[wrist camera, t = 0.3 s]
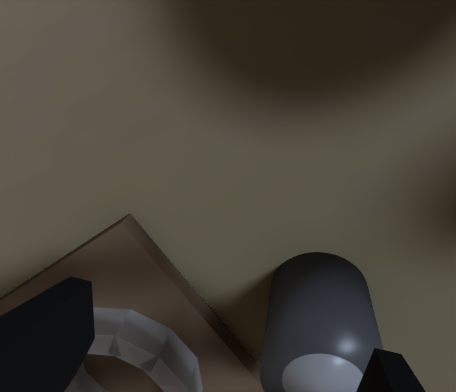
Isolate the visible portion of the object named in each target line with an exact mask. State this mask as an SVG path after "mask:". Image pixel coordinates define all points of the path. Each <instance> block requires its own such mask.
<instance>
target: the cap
mask: <svg viewBox="0 0 456 392" xmlns="http://www.w3.org/2000/svg"><path fill="white" fill-rule="evenodd" d="M374 348H377V349H381V350H383V346H382V342H381V338H380V334H379V330H378V326H377V322H376V318H375V314H374V310H373V306H372V302H371V298H370V294H369V290H368V286H367V282H366V280H365V278H364V276H363V274H362V273H361V272H360V270H359V269H358V268H357V267H356V266H355V265H353V264H352V263H351V262H349V261H348V260H346V259H344V258H342V257H339V256H337V255H333V254H329V253H321V252H312V253H305V254H301V255H298V256H295V257H293V258H291V259H289V260H287V261H286V262H284V263H283V264H282V265H281V266H280V267H279V268H278V269H277V271H276V272H275V274H274V276H273V278H272V281H271V288H270V296H269V303H268V311H267V319H266V327H265V335H264V343H263V351H262V359H261V367H260V381H261V385H262V388H263V390H264V392H356V391H357V389H358V386H359V384H360V382H361V379H362V377H363V374H364V372H365V370H366V367H367V365H368V362H369V360H370V358H371V355H372V353H373V350H374Z"/></svg>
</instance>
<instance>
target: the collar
mask: <svg viewBox="0 0 456 392" xmlns="http://www.w3.org/2000/svg"><path fill="white" fill-rule="evenodd" d="M70 276H71V277H75V278H80V279H84V280H88V281H92V294H93V311H94V328H95V339H94V341H93V343H92V345H91V347H90V349H89V351H88V353H87V355H86V357H85V359H84V360H83V362H82V364H81V366H80V368H79V369H78V371H77V373H76V375H75V377H74V378H73V380H72V381H71V383H70V384H69V386H68V387H67V388H66V390H65V391H64V392H264V390H263V388H262V385H261V381H260V368H259V366H258V365H257V364H256V363H255V362H254V360H253V359H252V358H251V357H250V356H249V354H248V353H247V352H246V351H245V350H244V349H243V347H242V346H241V345H240V344H239V343H238V341H237V340H236V339H235V338H234V337H233V335H232V334H231V333H230V332H229V331H228V329H227V328H226V327H225V326H224V325H223V324H222V322H221V321H220V320H219V319H218V318H217V316H216V315H215V314H214V313H213V312H212V310H211V309H210V308H209V307H208V306H207V305H206V303H205V302H204V301H203V300H202V299H201V297H200V296H199V295H198V294H197V293H196V291H195V290H194V289H193V288H192V287H191V285H190V284H189V283H188V282H187V281H186V280H185V278H184V277H183V276H182V275H181V274H180V272H179V271H178V270H177V269H176V268H175V266H174V265H173V264H172V263H171V262H170V261H169V259H168V258H167V257H166V256H165V255H164V253H163V252H162V251H161V250H160V249H159V247H158V246H157V245H156V244H155V243H154V242H153V240H152V239H151V238H150V237H149V236H148V234H147V233H146V232H145V231H144V230H143V228H142V227H141V226H140V225H139V224H138V222H137V221H136V220H135V219H134V218H133V217H132V215H131V214H128V215H127V216H125V217H124V218H122V219H121V220H119V221H118V222H116V223H114V224H113V225H111V226H110V227H108V228H107V229H105V230H104V231H102V232H101V233H99V234H98V235H96V236H95V237H93V238H92V239H90V240H89V241H87V242H85V243H84V244H82V245H81V246H79V247H78V248H76V249H75V250H73V251H72V252H70V253H69V254H67V255H66V256H64V257H63V258H61V259H60V260H58V261H56V262H55V263H53V264H52V265H50V266H49V267H47V268H46V269H44V270H43V271H41V272H40V273H38V274H37V275H35V276H34V277H32V278H31V279H29V280H27V281H26V282H24V283H23V284H21V285H20V286H18V287H17V288H15V289H14V290H12V291H11V292H9V293H8V294H6V295H5V296H3V297H2V298H0V316H1V315H3V314H5V313H7V312H8V311H10V310H12V309H14V308H15V307H17V306H19V305H21V304H23V303H24V302H26V301H28V300H29V299H31V298H33V297H35V296H36V295H38V294H40V293H42V292H43V291H45V290H47V289H48V288H50V287H52V286H54V285H55V284H57V283H59V282H61V281H63V280H65V279H66V278H68V277H70Z"/></svg>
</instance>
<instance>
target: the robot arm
mask: <svg viewBox="0 0 456 392" xmlns="http://www.w3.org/2000/svg"><path fill="white" fill-rule="evenodd" d="M94 339H95V328H94V311H93V294H92V281H88V280H84V279H80V278H75V277H71V276H70V277H68V278H66V279H65V280H63V281H61V282H59V283H57V284H55V285H54V286H52V287H50V288H48V289H47V290H45V291H43V292H42V293H40V294H38V295H36V296H35V297H33V298H31V299H29V300H28V301H26V302H24V303H23V304H21V305H19V306H17V307H15V308H14V309H12V310H10V311H8V312H7V313H5V314H3V315H1V316H0V392H64V391H65V390H66V388H67V387H68V386H69V384H70V383H71V381H72V380H73V378H74V377H75V375H76V373H77V371H78V369H79V368H80V366H81V364H82V362H83V360H84V359H85V357H86V355H87V353H88V351H89V349H90V347H91V345H92V343H93V341H94ZM356 392H425V390H424V389H423V387H422V385H421V384H420V382H419V381H418V379H417V378H416V376H415V375H414V373H413V372H412V370H411V368H410V367H409V365H408V364H407V362H406V361H405V359H404V358H403V356H402V355H401V354H398V353H394V352H390V351H385V350H381V349H377V348H374V350H373V353H372V355H371V358H370V360H369V362H368V365H367V367H366V370H365V372H364V374H363V377H362V379H361V382H360V384H359V386H358V389H357V391H356Z"/></svg>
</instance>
